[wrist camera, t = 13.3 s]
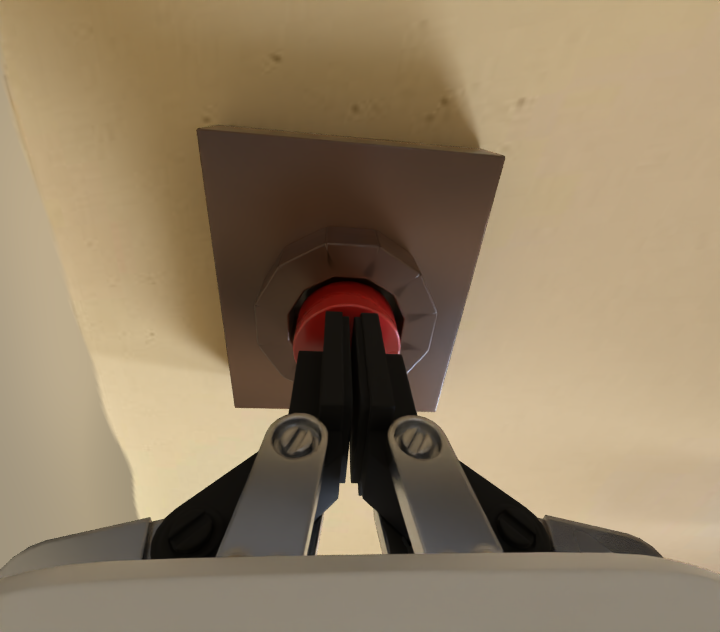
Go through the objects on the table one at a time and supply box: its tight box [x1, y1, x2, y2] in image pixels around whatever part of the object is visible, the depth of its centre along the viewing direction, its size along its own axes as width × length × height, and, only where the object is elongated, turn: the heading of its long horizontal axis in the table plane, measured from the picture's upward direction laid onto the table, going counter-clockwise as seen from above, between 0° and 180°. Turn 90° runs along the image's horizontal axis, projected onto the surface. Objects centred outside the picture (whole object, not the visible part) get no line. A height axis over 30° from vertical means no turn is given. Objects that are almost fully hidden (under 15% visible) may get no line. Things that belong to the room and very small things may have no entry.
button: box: [293, 281, 401, 364], centre depth 12 cm, size 4×4×2 cm
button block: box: [197, 125, 505, 412], centre depth 14 cm, size 12×10×4 cm
